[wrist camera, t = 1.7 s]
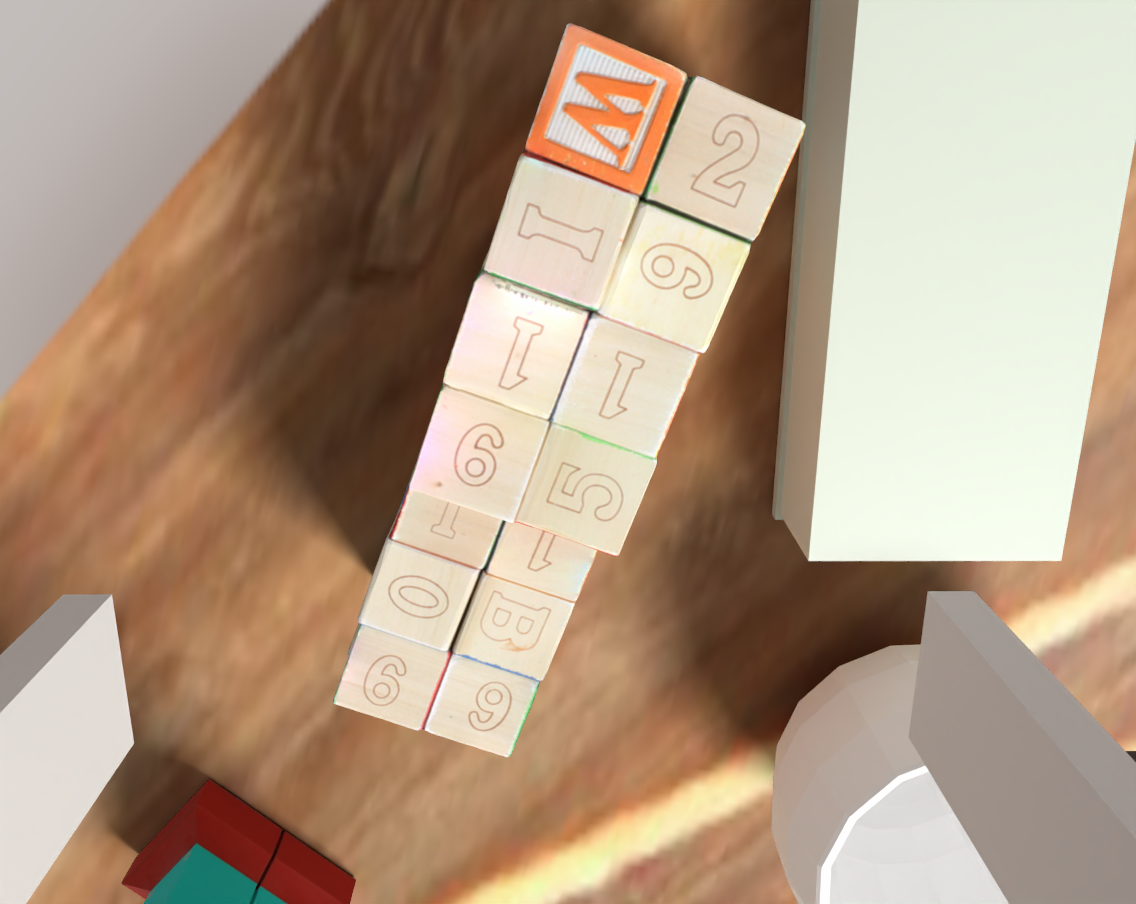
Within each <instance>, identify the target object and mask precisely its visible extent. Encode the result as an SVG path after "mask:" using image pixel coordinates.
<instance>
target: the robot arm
mask: <svg viewBox="0 0 1136 904" xmlns="http://www.w3.org/2000/svg"><path fill="white" fill-rule="evenodd" d="M908 738H909V739H910V741H911V743H912V744H913V746H914V748H915V749H916V751H917V752H918V754H919V756H920V757H921V759H922V761H923V762H924V764H925V766H926V767H927V769H928V771H929V772H930V774H931V776H932V777H933V779H934V781H935V782H936V784H937V786H938V787H939V789H940V790H941V792H942V794H943V795H944V797H945V799H946V800H947V802H948V804H949V805H950V807H951V809H952V810H953V812H954V814H955V815H956V817H957V819H958V820H959V822H960V824H961V825H962V827H963V829H964V830H965V832H966V833H967V835H968V837H969V838H970V840H971V842H972V843H973V845H974V847H975V848H976V850H977V852H978V853H979V855H980V857H981V858H982V860H983V862H984V863H985V865H986V867H987V868H988V870H989V871H990V873H991V875H992V876H993V878H994V880H995V881H996V883H997V885H998V886H999V888H1000V890H1001V891H1002V893H1003V895H1004V896H1005V898H1006V900H1007V901H1008V903H1009V904H1136V751H1125V750H1124V749H1123V748H1122V747H1121V746H1120V745H1119V744H1118V743H1117V742H1116V741H1115V740H1114V739H1113V738H1112V737H1111V735H1110V734H1109V733H1108V732H1107V731H1106V730H1105V729H1104V728H1103V727H1102V726H1101V725H1100V724H1099V723H1098V722H1097V721H1096V720H1095V719H1094V717H1093V716H1092V715H1091V714H1090V713H1089V712H1088V711H1087V710H1086V709H1085V708H1084V707H1083V706H1082V705H1081V704H1080V703H1079V702H1078V700H1077V699H1076V698H1075V697H1074V696H1073V695H1072V694H1071V693H1070V692H1069V691H1068V690H1067V689H1066V688H1065V687H1064V686H1063V685H1062V684H1061V682H1060V681H1059V680H1058V679H1057V678H1056V677H1055V676H1054V675H1053V674H1052V673H1051V672H1050V671H1049V670H1048V669H1047V668H1046V667H1045V666H1044V664H1043V663H1042V662H1041V661H1040V660H1039V659H1038V658H1037V657H1036V656H1035V655H1034V654H1033V653H1032V652H1031V651H1030V650H1029V649H1028V648H1027V646H1026V645H1025V644H1024V643H1023V642H1022V641H1021V640H1020V639H1019V638H1018V637H1017V636H1016V635H1015V634H1014V633H1013V632H1012V631H1011V629H1010V628H1009V627H1008V626H1007V625H1006V624H1005V623H1004V622H1003V621H1002V620H1001V619H1000V618H999V617H998V616H997V615H996V614H995V613H994V611H993V610H992V609H991V608H990V607H989V606H988V605H987V604H986V603H985V602H984V601H983V600H982V599H981V598H980V597H979V596H978V595H977V593H976V592H975V591H928V593H927V601H926V608H925V616H924V624H923V631H922V639H921V646H920V654H919V661H918V669H917V676H916V684H915V692H914V699H913V707H912V714H911V722H910V729H909V737H908ZM133 744H134V739H133V732H132V726H131V719H130V712H129V706H128V699H127V692H126V686H125V679H124V672H123V666H122V659H121V652H120V646H119V639H118V632H117V626H116V619H115V612H114V606H113V599H112V594H110V595H62V596H61V597H60V598H59V599H58V600H57V601H56V602H55V603H54V604H53V605H52V606H51V607H50V608H49V609H48V610H47V611H46V612H45V613H44V614H42V615H41V616H40V617H39V618H38V619H37V620H36V621H35V622H34V623H33V624H32V625H31V626H30V627H29V628H28V629H27V630H26V631H25V632H24V633H23V634H22V635H20V636H19V637H18V638H17V639H16V640H15V641H14V642H13V643H12V644H11V645H10V646H9V647H8V648H7V649H6V650H5V651H4V652H3V653H2V654H1V655H0V904H26V903H27V901H28V900H29V899H30V897H31V896H32V894H33V893H34V891H35V890H36V888H37V887H38V885H39V884H40V882H41V881H42V879H43V878H44V876H45V875H46V873H47V872H48V870H49V869H50V867H51V866H52V864H53V863H54V861H55V860H56V858H57V857H58V856H59V854H60V853H61V851H62V850H63V848H64V847H65V845H66V844H67V842H68V841H69V839H70V838H71V836H72V835H73V833H74V832H75V830H76V829H77V827H78V826H79V824H80V823H81V821H82V820H83V818H84V817H85V815H86V814H87V812H88V811H89V810H90V808H91V807H92V805H93V804H94V802H95V801H96V799H97V798H98V796H99V795H100V793H101V792H102V790H103V789H104V787H105V786H106V784H107V783H108V781H109V780H110V778H111V777H112V775H113V774H114V772H115V771H116V769H117V768H118V766H119V765H120V764H121V762H122V761H123V759H124V758H125V756H126V755H127V753H128V752H129V750H130V749H131V747H132V746H133Z"/></svg>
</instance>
